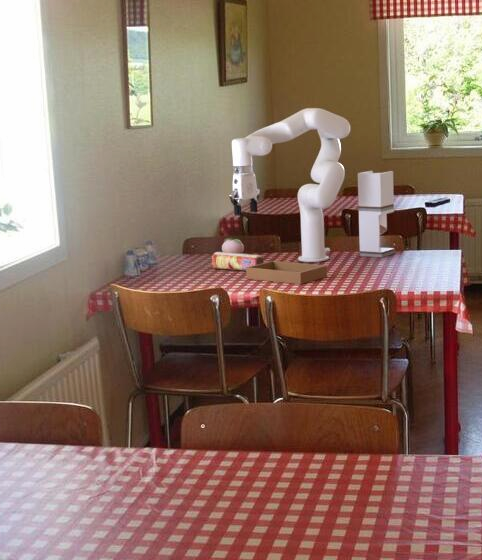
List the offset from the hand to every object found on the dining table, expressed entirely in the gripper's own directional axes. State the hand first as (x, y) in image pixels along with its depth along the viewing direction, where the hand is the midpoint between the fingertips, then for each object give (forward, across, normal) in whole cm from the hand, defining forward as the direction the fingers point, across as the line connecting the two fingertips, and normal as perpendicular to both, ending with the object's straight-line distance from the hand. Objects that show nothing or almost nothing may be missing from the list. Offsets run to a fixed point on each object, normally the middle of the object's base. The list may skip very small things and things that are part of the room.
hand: (246, 213), depth 391 cm
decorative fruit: (+23, +14, +21) cm, 34 cm away
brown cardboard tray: (+22, -8, -24) cm, 34 cm away
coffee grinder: (+24, +52, -27) cm, 63 cm away
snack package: (+22, -3, +4) cm, 23 cm away
